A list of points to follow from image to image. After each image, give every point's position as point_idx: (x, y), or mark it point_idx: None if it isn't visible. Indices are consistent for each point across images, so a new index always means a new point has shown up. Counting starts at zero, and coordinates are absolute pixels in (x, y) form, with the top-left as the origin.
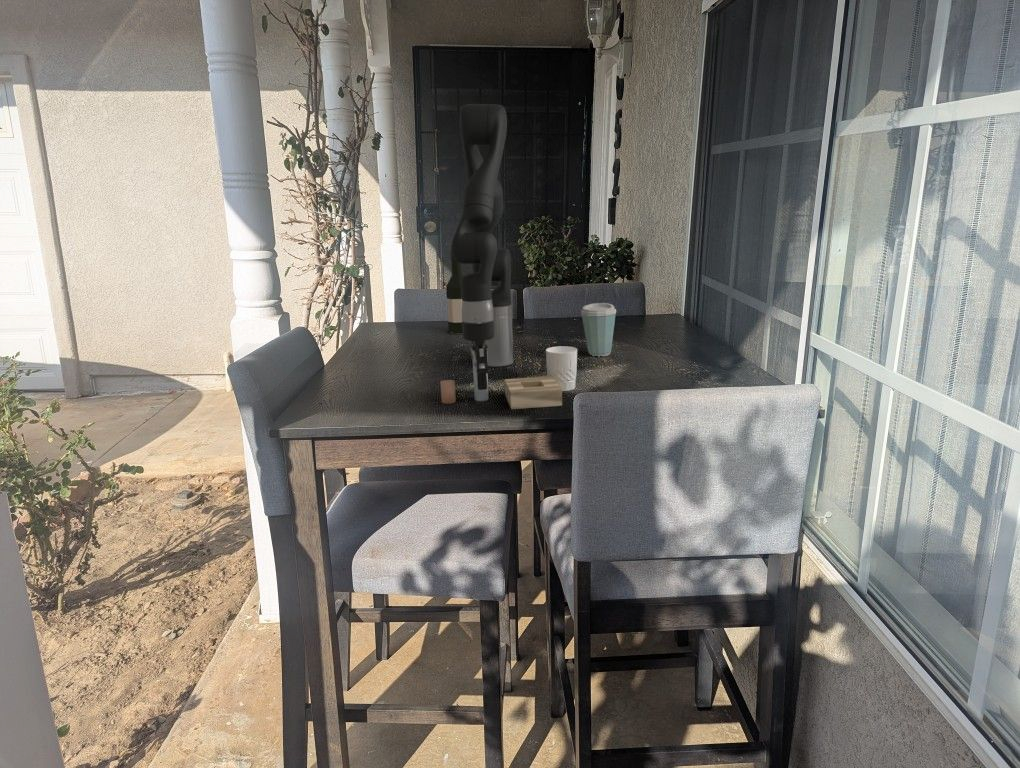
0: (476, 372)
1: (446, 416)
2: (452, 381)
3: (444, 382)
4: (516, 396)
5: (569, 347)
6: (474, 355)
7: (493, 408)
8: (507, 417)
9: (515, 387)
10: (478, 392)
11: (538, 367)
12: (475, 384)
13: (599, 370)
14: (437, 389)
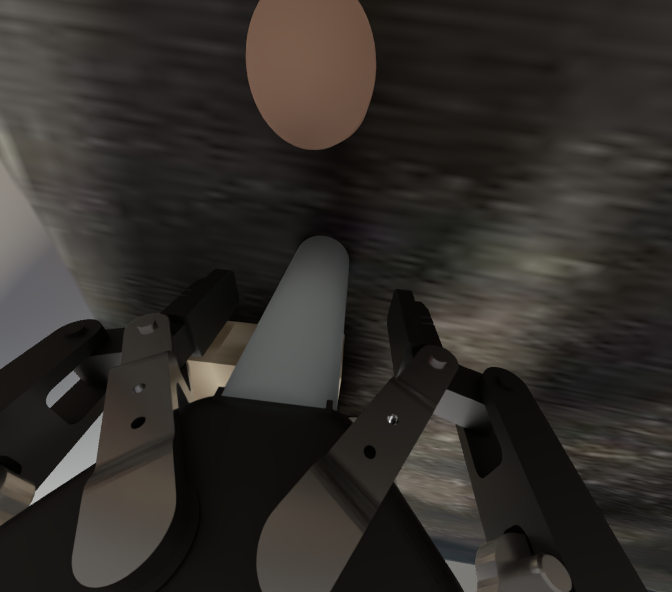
0: (138, 321)
1: (53, 39)
2: (303, 128)
3: (286, 29)
4: None
5: None
6: (106, 451)
7: (202, 275)
8: (112, 291)
9: (223, 379)
10: (290, 263)
11: (576, 448)
12: (290, 272)
13: (449, 489)
14: (652, 40)
